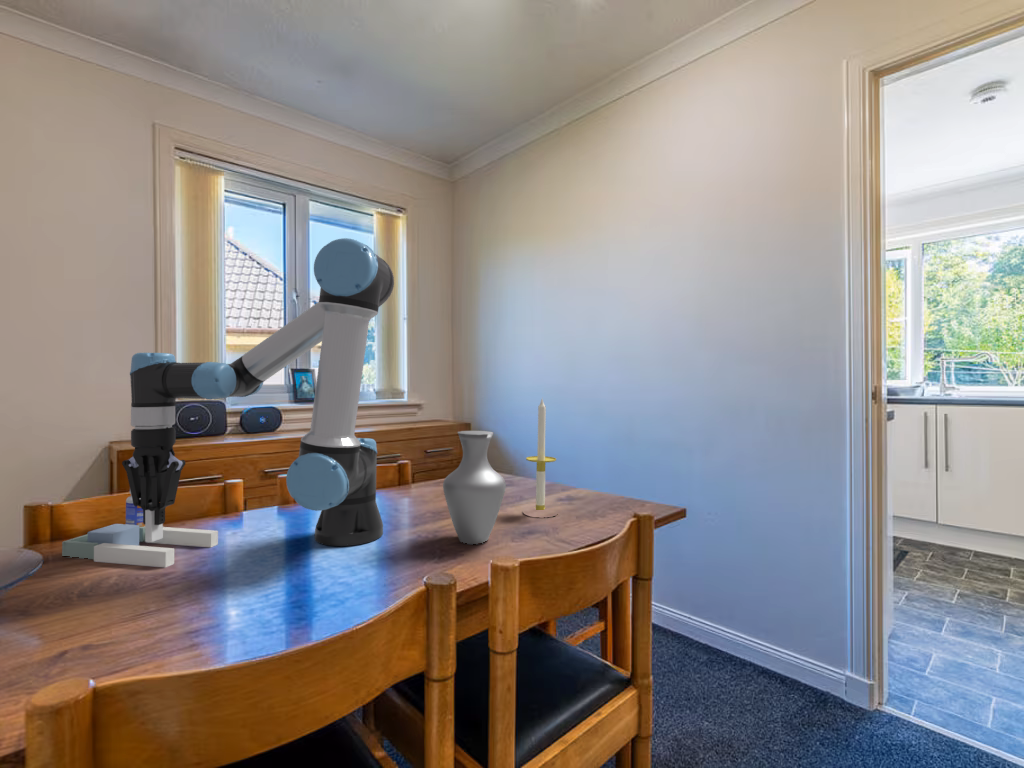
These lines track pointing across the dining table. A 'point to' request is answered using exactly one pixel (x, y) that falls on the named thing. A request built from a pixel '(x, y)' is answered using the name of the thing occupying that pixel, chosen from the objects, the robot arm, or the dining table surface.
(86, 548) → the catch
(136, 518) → the pill bottle
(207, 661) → the dining table surface
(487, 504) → the vase
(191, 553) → the dining table surface
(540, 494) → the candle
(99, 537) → the block
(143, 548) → the chute
